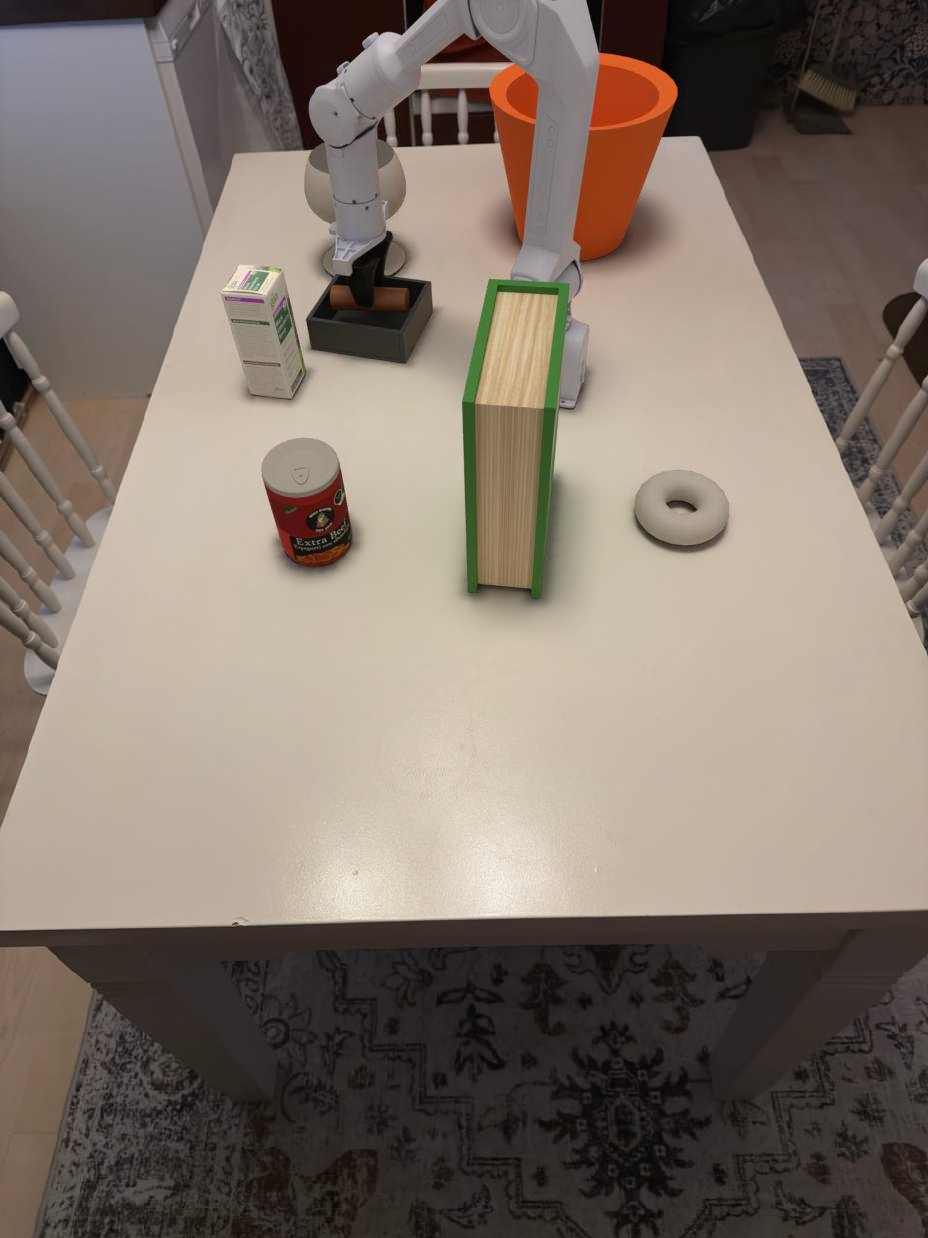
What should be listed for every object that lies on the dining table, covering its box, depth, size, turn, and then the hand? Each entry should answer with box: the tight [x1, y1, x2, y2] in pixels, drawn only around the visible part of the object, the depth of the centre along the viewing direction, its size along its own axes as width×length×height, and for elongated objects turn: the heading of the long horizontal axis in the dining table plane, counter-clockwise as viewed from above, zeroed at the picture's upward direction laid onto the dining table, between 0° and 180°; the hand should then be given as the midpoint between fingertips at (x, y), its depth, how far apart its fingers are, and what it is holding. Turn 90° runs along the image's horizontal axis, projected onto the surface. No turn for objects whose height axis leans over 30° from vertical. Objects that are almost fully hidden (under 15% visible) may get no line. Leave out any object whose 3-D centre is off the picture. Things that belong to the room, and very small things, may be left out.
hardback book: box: [461, 278, 570, 600], centre depth 80 cm, size 18×7×24 cm, turn 172°
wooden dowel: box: [330, 285, 410, 313], centre depth 109 cm, size 10×3×3 cm
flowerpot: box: [488, 52, 679, 262], centre depth 119 cm, size 25×25×20 cm
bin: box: [305, 274, 434, 364], centre depth 111 cm, size 13×12×4 cm
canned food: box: [260, 437, 353, 567], centre depth 85 cm, size 8×8×11 cm
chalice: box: [303, 138, 407, 277], centre depth 117 cm, size 14×14×15 cm
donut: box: [634, 469, 730, 546], centre depth 89 cm, size 10×4×10 cm
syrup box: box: [220, 264, 307, 400], centre depth 101 cm, size 6×6×14 cm
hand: (369, 297), depth 109 cm, fingers closed on wooden dowel, 3 cm apart
